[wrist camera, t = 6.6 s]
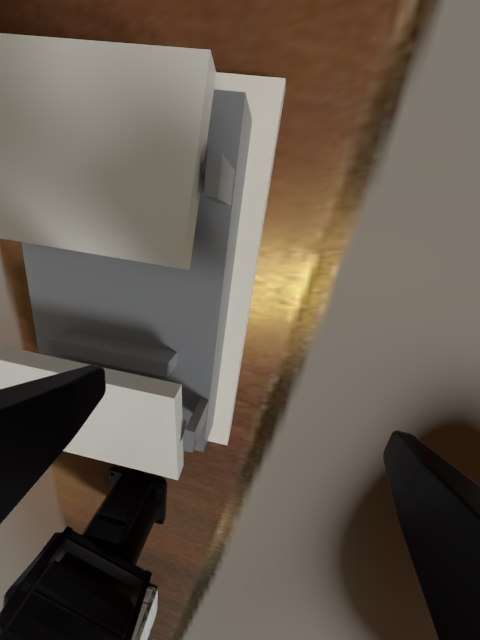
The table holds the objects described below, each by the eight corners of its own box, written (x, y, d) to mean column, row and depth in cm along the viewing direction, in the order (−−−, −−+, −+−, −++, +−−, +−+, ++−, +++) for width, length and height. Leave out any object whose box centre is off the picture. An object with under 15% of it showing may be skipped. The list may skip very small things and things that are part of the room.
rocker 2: (186, 457, 18) (178, 480, 17) (49, 423, 19) (30, 442, 18) (185, 376, 14) (174, 398, 13) (10, 339, 15) (-18, 356, 14)
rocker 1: (193, 271, 12) (181, 268, 10) (-10, 236, 13) (-48, 230, 11) (219, 84, 11) (210, 49, 9) (-7, 63, 12) (-50, 29, 10)
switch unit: (229, 435, 23) (209, 516, 17) (73, 399, 25) (-3, 460, 18) (285, 90, 15) (289, -34, 8) (37, 67, 16) (-138, -53, 9)
